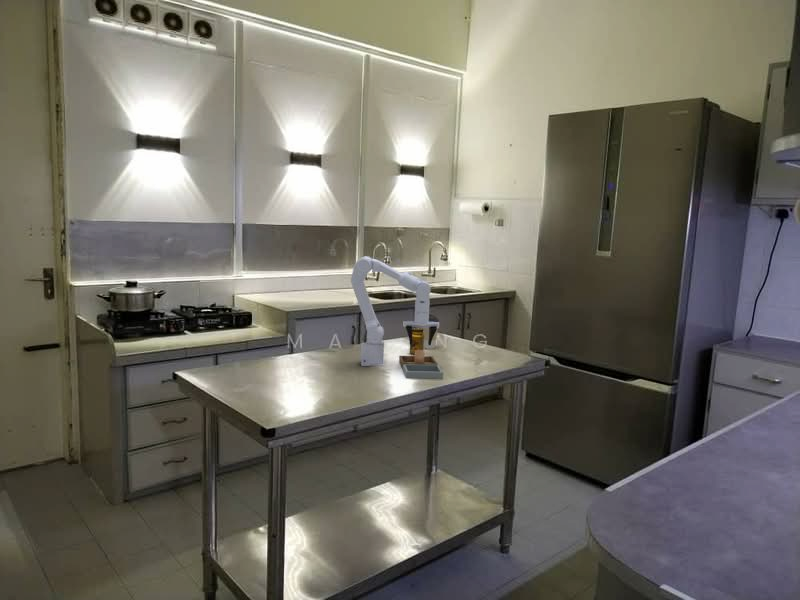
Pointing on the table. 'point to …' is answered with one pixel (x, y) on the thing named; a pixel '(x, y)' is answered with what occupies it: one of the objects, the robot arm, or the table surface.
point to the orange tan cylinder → (419, 356)
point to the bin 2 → (422, 371)
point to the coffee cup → (426, 334)
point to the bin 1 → (410, 360)
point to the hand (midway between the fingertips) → (420, 344)
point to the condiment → (417, 340)
